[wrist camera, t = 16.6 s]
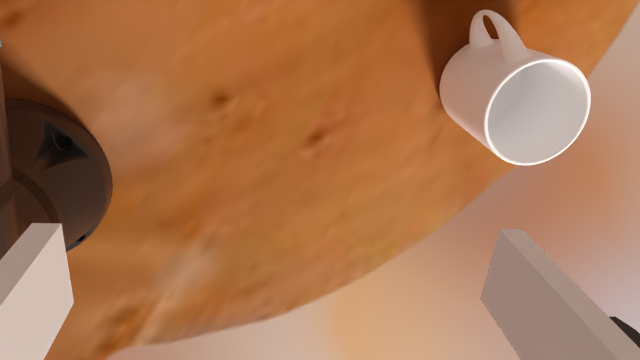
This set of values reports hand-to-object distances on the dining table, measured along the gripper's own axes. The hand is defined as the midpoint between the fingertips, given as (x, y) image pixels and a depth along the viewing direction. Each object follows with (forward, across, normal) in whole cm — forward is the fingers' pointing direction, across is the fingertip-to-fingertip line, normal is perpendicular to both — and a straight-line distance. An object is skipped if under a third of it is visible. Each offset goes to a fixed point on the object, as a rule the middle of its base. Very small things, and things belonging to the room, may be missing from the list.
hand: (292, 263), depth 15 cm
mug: (+32, +20, +1) cm, 38 cm away
